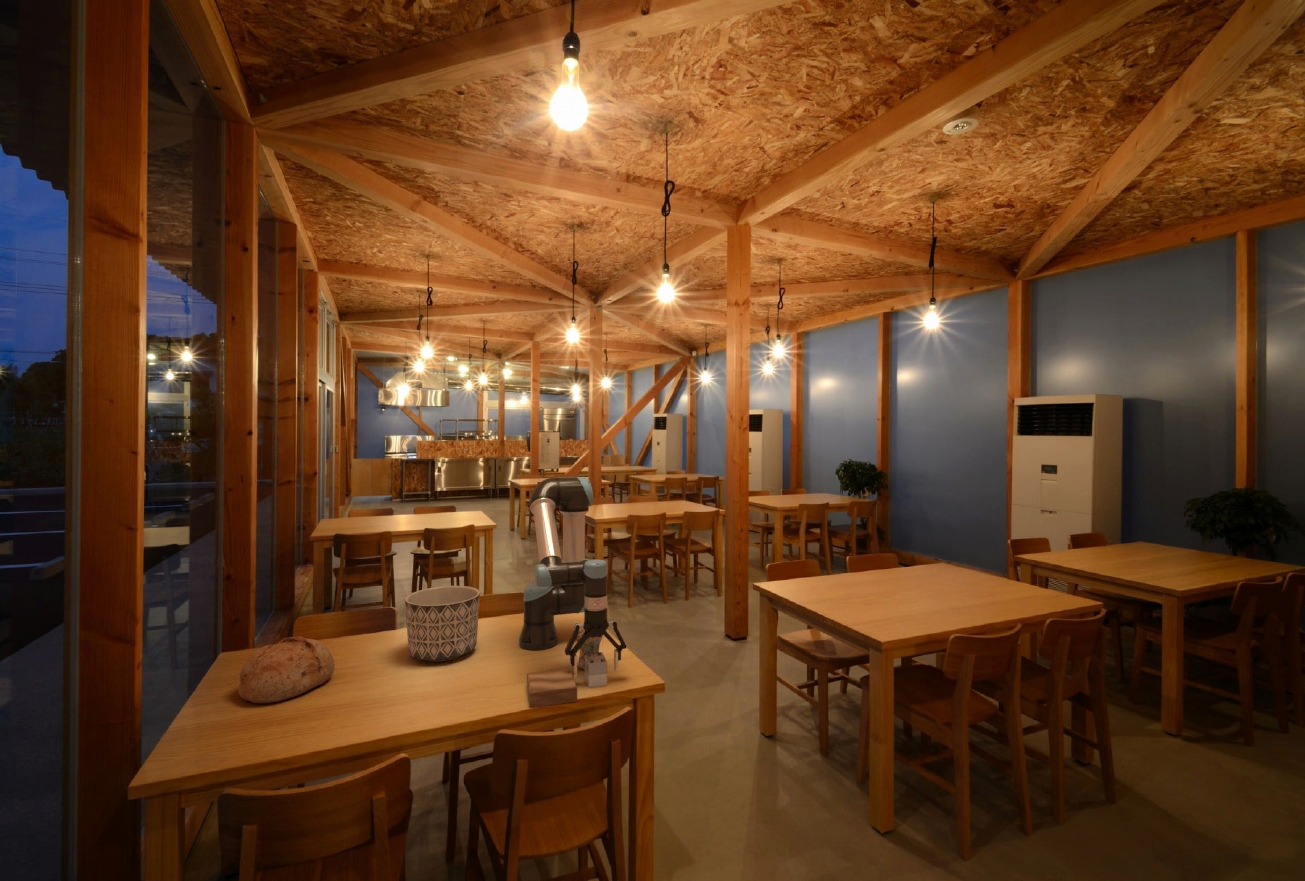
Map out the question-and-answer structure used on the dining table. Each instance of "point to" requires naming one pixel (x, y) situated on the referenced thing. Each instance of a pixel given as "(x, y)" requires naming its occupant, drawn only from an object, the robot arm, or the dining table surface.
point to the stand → (551, 687)
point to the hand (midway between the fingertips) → (595, 672)
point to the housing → (595, 670)
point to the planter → (442, 622)
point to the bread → (285, 670)
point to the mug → (587, 648)
